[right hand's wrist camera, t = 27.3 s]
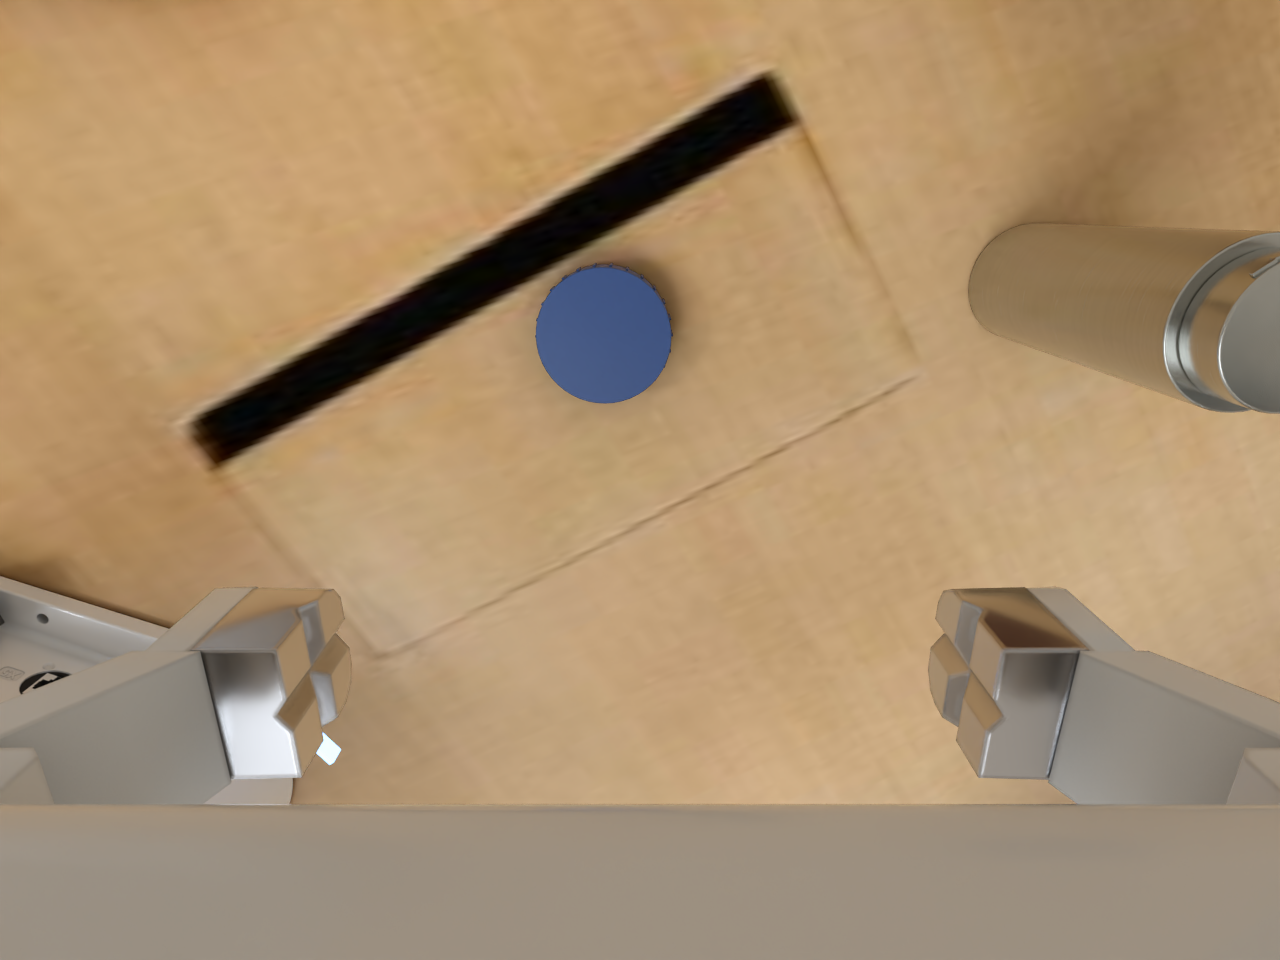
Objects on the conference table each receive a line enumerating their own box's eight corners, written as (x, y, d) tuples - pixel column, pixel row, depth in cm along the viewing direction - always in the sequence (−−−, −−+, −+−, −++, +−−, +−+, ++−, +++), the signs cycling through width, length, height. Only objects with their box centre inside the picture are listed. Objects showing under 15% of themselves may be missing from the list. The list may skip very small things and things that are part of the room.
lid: (535, 263, 33) (529, 266, 32) (671, 261, 33) (673, 265, 32) (543, 396, 36) (538, 405, 34) (671, 394, 36) (672, 404, 34)
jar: (1101, 290, 34) (1434, 349, 20) (1003, 360, 35) (1250, 463, 21) (1047, 198, 33) (1363, 189, 18) (946, 274, 34) (1170, 321, 19)
